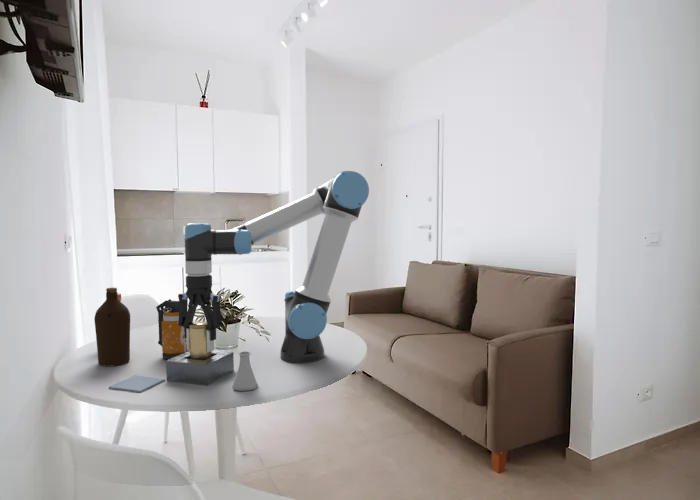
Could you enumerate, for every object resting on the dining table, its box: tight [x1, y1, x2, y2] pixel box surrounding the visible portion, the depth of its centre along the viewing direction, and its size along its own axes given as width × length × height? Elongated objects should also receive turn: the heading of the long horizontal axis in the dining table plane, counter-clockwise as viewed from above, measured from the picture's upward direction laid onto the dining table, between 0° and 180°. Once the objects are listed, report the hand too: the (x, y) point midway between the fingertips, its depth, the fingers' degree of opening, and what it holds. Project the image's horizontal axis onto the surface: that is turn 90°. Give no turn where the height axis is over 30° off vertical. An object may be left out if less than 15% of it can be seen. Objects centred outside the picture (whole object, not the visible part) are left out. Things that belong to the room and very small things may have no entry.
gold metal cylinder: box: [189, 320, 212, 361], centre depth 140 cm, size 6×6×16 cm
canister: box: [155, 298, 190, 360], centre depth 159 cm, size 9×11×20 cm
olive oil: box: [93, 287, 131, 367], centre depth 153 cm, size 11×11×25 cm
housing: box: [165, 349, 235, 386], centre depth 140 cm, size 14×14×6 cm
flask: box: [232, 350, 259, 392], centre depth 130 cm, size 7×7×10 cm
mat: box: [108, 374, 166, 393], centre depth 133 cm, size 11×10×1 cm
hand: (200, 349), depth 140 cm, fingers closed on gold metal cylinder, 6 cm apart
